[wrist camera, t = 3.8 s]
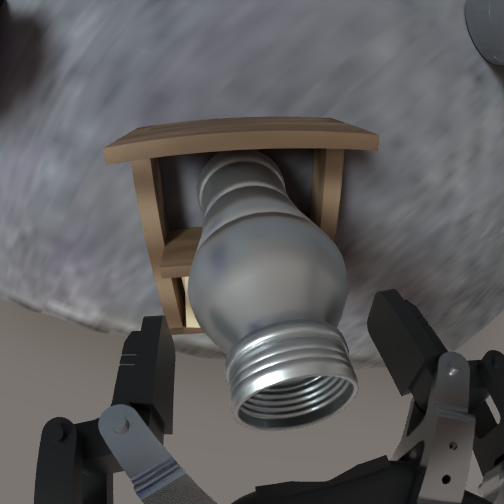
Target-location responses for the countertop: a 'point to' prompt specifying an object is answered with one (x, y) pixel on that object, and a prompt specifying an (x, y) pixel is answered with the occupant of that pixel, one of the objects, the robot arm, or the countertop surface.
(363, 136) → the walnut rack
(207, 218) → the silver metal bottle
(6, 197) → the countertop surface
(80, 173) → the countertop surface
